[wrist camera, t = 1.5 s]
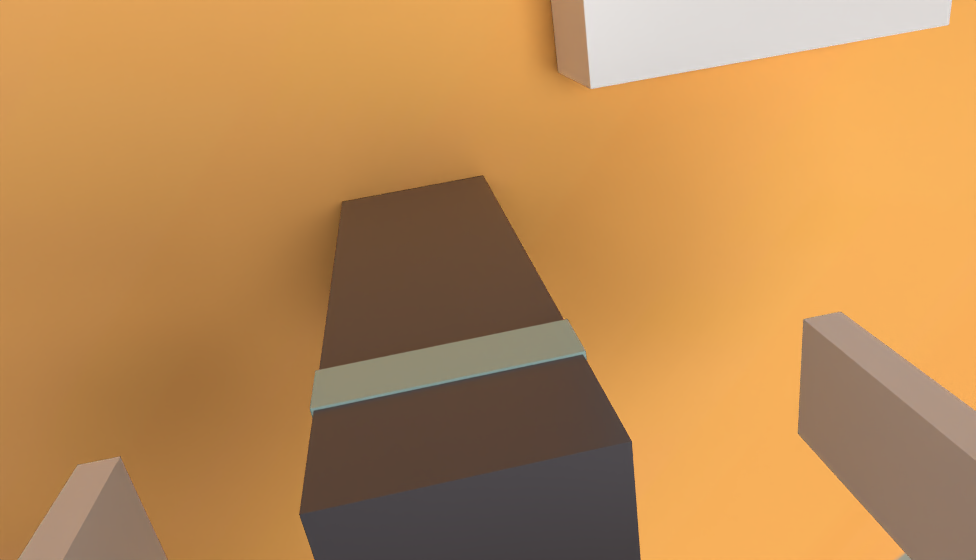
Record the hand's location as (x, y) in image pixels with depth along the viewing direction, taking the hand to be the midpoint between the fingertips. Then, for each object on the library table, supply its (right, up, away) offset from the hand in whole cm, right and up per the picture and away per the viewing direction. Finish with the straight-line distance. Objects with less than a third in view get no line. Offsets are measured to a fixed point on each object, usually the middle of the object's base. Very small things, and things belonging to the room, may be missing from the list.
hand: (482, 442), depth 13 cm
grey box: (-2, +4, +9) cm, 10 cm away
